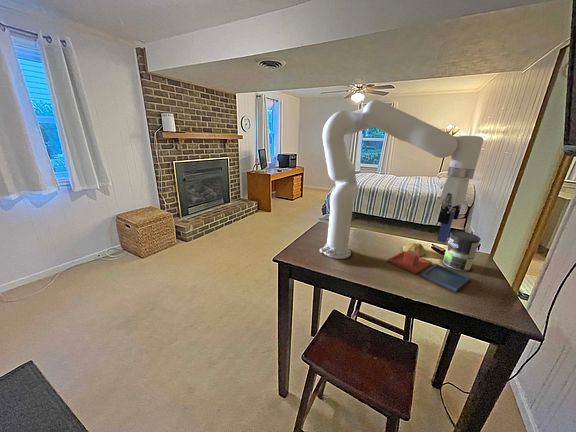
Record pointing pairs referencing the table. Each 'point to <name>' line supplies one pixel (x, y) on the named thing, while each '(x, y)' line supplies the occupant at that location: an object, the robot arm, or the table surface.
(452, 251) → the coffee can
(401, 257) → the terracotta tray
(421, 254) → the fossil
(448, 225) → the walkman
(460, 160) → the robot arm
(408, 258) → the block
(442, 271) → the slate tray
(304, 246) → the table surface
